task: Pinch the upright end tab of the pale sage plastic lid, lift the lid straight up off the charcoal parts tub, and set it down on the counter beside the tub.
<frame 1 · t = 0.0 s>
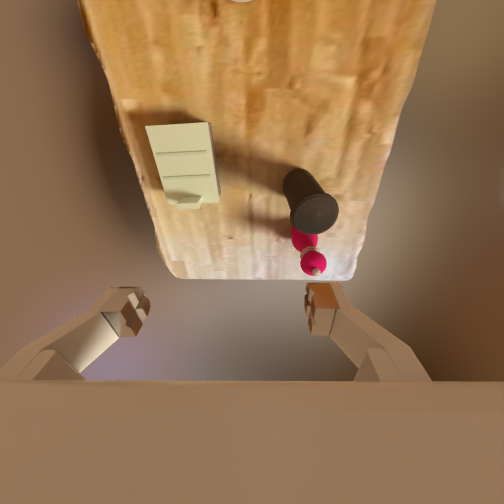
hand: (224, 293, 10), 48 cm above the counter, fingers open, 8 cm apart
pepper mill: (301, 231, 62), on the counter
lid: (186, 167, 47), point 5 cm above the counter, touching tub
container: (298, 185, 55), on the counter
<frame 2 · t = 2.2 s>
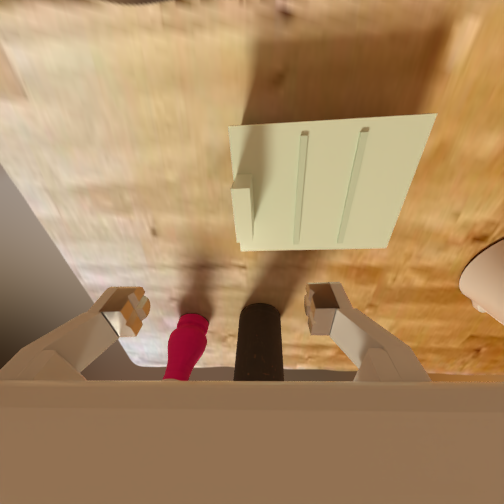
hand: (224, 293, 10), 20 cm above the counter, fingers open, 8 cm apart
pepper mill: (194, 321, 44), on the counter
lid: (317, 193, 21), point 5 cm above the counter, touching tub
container: (259, 315, 42), on the counter
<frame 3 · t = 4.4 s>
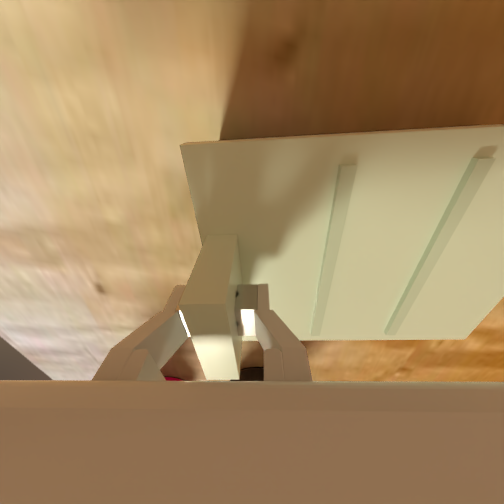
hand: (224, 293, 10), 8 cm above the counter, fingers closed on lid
lid: (357, 261, 12), point 5 cm above the counter, touching gripper, tub
container: (256, 378, 32), on the counter
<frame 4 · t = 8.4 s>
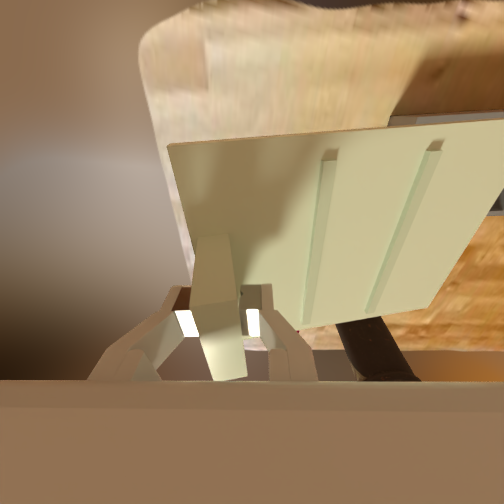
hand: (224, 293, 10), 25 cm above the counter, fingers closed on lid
tub: (434, 162, 29), on the counter
lid: (338, 249, 13), point 21 cm above the counter, tilted 10°, touching gripper
container: (345, 295, 45), on the counter
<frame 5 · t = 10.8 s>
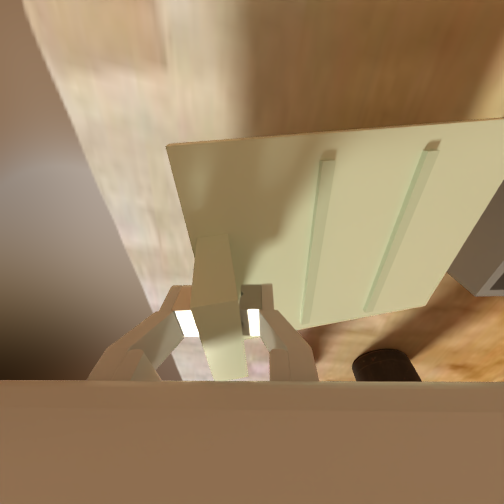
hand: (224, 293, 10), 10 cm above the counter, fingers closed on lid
lid: (337, 248, 13), point 7 cm above the counter, tilted 12°, touching gripper
container: (377, 361, 33), on the counter
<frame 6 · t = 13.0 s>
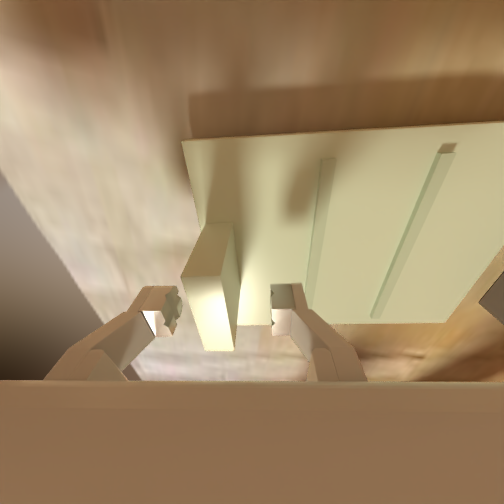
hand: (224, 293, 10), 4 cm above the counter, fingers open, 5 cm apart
lid: (343, 248, 13), point 1 cm above the counter
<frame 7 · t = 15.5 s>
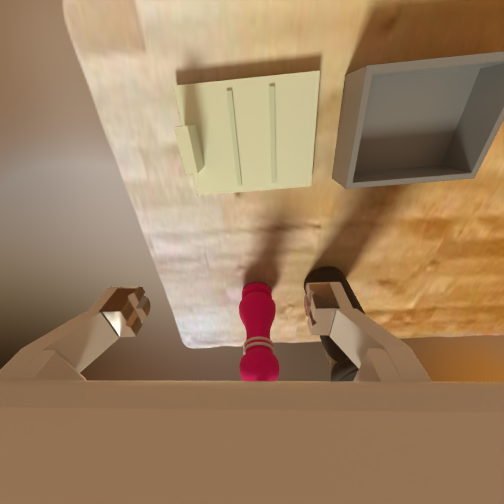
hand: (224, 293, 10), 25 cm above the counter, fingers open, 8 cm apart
tub: (398, 127, 28), on the counter
pepper mill: (256, 292, 44), on the counter
lid: (250, 141, 28), point 1 cm above the counter
container: (322, 281, 43), on the counter
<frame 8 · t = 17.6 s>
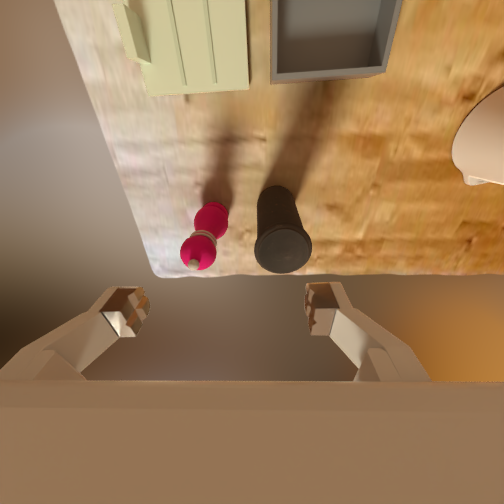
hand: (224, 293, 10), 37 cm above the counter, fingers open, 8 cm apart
tub: (323, 29, 31), on the counter
pepper mill: (215, 214, 48), on the counter
lid: (190, 39, 31), point 1 cm above the counter
container: (274, 203, 46), on the counter
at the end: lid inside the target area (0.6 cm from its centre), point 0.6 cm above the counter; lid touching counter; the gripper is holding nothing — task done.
